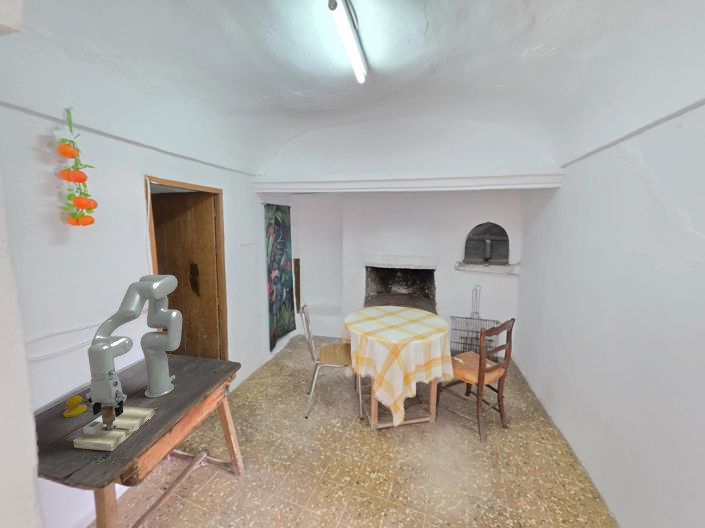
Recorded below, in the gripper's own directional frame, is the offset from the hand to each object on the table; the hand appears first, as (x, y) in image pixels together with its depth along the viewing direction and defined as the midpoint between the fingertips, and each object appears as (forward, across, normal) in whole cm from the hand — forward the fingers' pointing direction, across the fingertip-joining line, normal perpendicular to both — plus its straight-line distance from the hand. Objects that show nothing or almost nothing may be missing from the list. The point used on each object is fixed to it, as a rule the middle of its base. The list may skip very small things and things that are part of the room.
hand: (108, 413), depth 124 cm
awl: (+9, 0, 0) cm, 9 cm away
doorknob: (+10, +30, -12) cm, 34 cm away
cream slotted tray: (+9, 0, -3) cm, 10 cm away
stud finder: (+6, +6, 0) cm, 8 cm away
